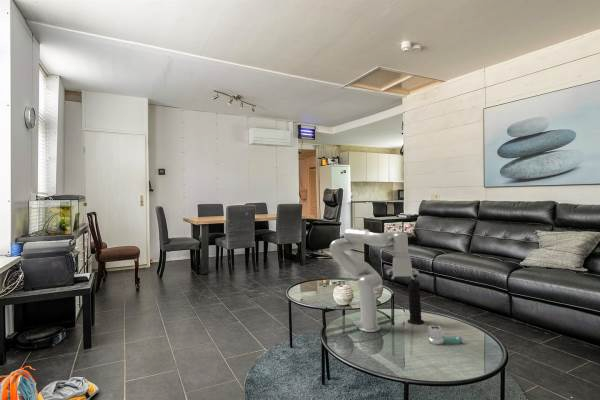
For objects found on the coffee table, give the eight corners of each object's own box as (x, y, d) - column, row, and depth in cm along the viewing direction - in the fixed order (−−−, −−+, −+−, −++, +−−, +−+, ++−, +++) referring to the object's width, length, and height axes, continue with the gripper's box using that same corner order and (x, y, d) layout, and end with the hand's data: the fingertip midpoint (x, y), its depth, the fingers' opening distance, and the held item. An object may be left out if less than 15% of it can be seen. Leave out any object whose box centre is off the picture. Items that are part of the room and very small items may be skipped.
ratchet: (429, 344, 170) (428, 331, 170) (427, 338, 178) (426, 325, 178) (463, 346, 166) (462, 332, 166) (459, 340, 174) (458, 326, 174)
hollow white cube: (430, 339, 171) (430, 329, 171) (429, 334, 176) (428, 325, 177) (442, 339, 169) (442, 329, 170) (440, 335, 175) (440, 325, 175)
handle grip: (426, 324, 198) (422, 319, 208) (423, 280, 199) (419, 277, 209) (409, 324, 199) (405, 319, 209) (407, 281, 200) (403, 277, 210)
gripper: (385, 256, 180) (387, 287, 179) (418, 256, 176) (420, 288, 175) (385, 254, 187) (386, 284, 187) (417, 254, 183) (418, 284, 183)
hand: (403, 286), depth 181 cm, fingers open, 9 cm apart
